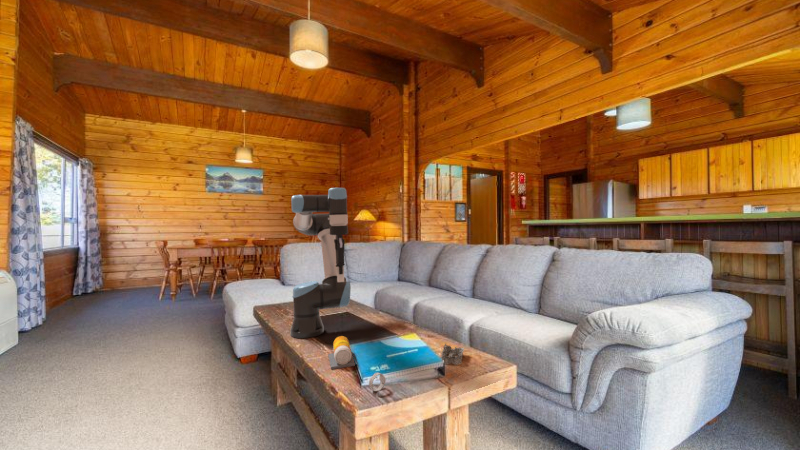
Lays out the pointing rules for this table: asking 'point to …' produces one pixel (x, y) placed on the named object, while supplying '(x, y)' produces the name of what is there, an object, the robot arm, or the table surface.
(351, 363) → the mat
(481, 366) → the table surface
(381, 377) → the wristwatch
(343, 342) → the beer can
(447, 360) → the egg carton
